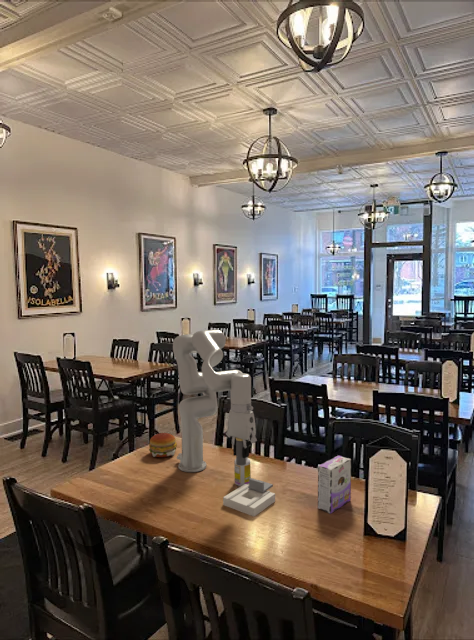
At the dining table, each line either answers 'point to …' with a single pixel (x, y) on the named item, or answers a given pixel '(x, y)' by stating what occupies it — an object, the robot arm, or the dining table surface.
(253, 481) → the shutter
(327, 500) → the candy box
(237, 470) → the supplement bottle
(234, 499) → the socket
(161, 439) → the burger
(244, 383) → the robot arm
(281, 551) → the dining table surface
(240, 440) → the plug
